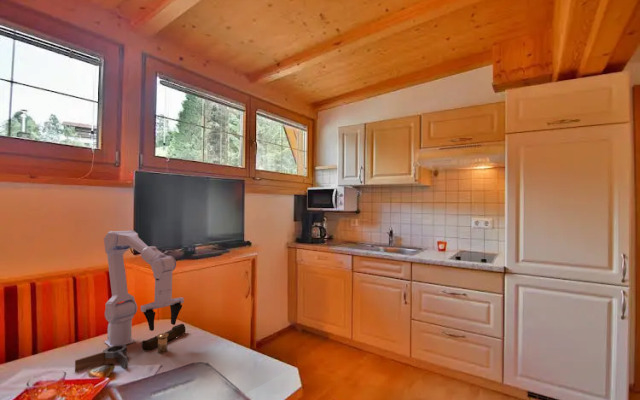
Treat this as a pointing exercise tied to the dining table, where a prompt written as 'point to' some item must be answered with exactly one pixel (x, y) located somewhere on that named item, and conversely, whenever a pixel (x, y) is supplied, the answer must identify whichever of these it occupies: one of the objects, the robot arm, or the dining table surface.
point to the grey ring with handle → (117, 354)
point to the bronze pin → (162, 342)
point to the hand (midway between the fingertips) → (162, 327)
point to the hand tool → (172, 333)
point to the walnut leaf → (93, 361)
